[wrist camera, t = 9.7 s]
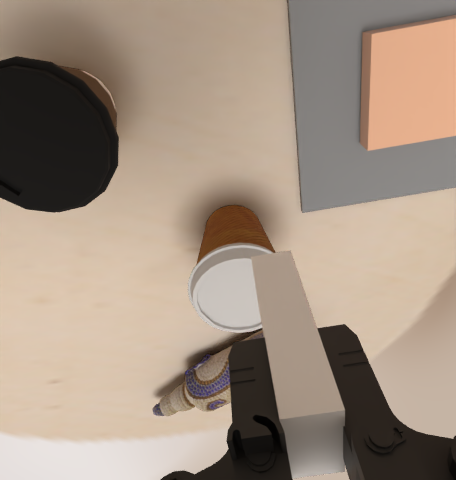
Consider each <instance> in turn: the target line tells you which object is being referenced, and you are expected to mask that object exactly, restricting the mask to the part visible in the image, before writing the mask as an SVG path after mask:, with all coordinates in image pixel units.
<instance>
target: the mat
mask: <svg viewBox="0 0 456 480" xmlns="http://www.w3.org/2000/svg"><path fill="white" fill-rule="evenodd" d="M287 1H288V16H289V31H290V46H291V61H292V76H293V91H294V106H295V121H296V136H297V151H298V166H299V181H300V196H301V210H302V213H305V212H311V211H317V210H323V209H329V208H335V207H341V206H347V205H353V204H359V203H365V202H371V201H377V200H383V199H389V198H395V197H401V196H407V195H413V194H419V193H425V192H431V191H437V190H444V189H450V188H456V136H452V137H446V138H440V139H434V140H428V141H422V142H417V143H411V144H405V145H399V146H393V147H387V148H382V149H376V150H370V151H367V150H366V149H365V148H364V147H363V146H362V145H361V144H360V118H361V75H362V33H363V32H365V31H371V30H376V29H382V28H387V27H393V26H398V25H403V24H409V23H414V22H420V21H425V20H431V19H436V18H441V17H447V16H452V15H456V0H287Z"/></svg>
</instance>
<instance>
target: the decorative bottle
mask: <svg viewBox="0 0 456 480" xmlns="http://www.w3.org/2000/svg"><path fill="white" fill-rule="evenodd" d="M258 338H264V335H263V329H262V330H260V331H259V332H257V333H254V334H253V335H251V336H250V337H248V338H246V339H244V340H241V341H245V340H251V339H258ZM231 348H232V346H230V347H229V348H227V349H225V350H223V351H221V352H219V353H217V354H215V355H213V356H211V355H206V356H205V357H204V358H203V359H202V360H201V362H199V363H197V364H196V365H194V366H193V367H191V368H189V369H188V370H187V371H186V372H185V382H184V383H183V384H181V385H179V386H178V387H177V388H175V389H174V390H173V391H172V392H171V394H168V395H166V396H165V397H163V398H162V399H161V400H160V403H158V404H156V405H155V406H154V408H153V413H154V414H155V415H156V416H164V415H165V416H170V415H173V414H175V413H176V412H178V411H187V410H190V409H192V408H194V407H195V406H196V407H197V408H199V409H200V410H202V411H206V412H208V411H214V410H215V409H217V408H219V407H222V406H224V405H226V404H228V403H230V402H231V392H230V377H229V361H228V355H229V353H230V350H231ZM208 356H209V357H208ZM206 357H208V358H206Z"/></svg>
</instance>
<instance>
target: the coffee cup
mask: <svg viewBox="0 0 456 480" xmlns="http://www.w3.org/2000/svg"><path fill="white" fill-rule="evenodd" d="M116 117H117V113H116V106H115V104H114V101H113V98H112V96H111V93H110V91H109V90H108V89H107V88H106V87H105V85H104V84H103V83H102V82H101V81H100V80H99V79H98V78H96V77H94V76H93V75H91V74H89V73H87V72H86V71H81V70H79V69H75V68H69V67H63V66H57V65H56V64H54V63H52V62H47V61H41V60H35V59H29V58H23V57H13V58H9V59H6V60H2V61H0V198H2V199H5V200H7V201H9V202H11V203H14V204H16V205H18V206H20V207H23V208H25V209H28V210H37V211H45V212H62V211H66V210H71V209H75V208H79V207H83V206H86V205H87V204H88V203H90V202H91V201H92V200H94V199H95V198H96V197H98V196H99V195H100V194H102V193H103V192H104V191H105V190H106V188H107V186H108V184H109V182H110V180H111V178H112V176H113V174H114V172H115V170H116V168H117V166H118V141H119V137H118V134H117V132H116Z"/></svg>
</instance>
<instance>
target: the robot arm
mask: <svg viewBox="0 0 456 480" xmlns="http://www.w3.org/2000/svg"><path fill="white" fill-rule="evenodd" d="M251 261H252V268H253V274H254V280H255V287H256V293H257V299H258V306H259V312H260V318H261V323H262V329H263V335H264V338H258V339H251V340H245V341H238V342H234V343H233V345H232V348H231V350H230V353H229V355H228V361H229V377H230V392H231V407H232V424H231V426H230V428H229V429H228V435H227V444H228V448H229V449H228V451H227V452H226V454H225V455H224V456H223V457H222V458H221V459H220V460H219V461H218V462H216V463H215V464H213V465H212V466H210V467H208V468H206V469H204V470H202V471H200V472H198V473H197V474H192V473H190V472H187V471H175V472H172V473H170V474H168V475H167V476H164V477H163V478H162V479H161V480H293V479H294V478H302V477H309V476H316V475H324V474H331V473H338V472H344V471H345V466H346V469H347V472H348V476H349V479H350V480H456V436H455V437H454V439H451V438H445V437H439V436H433V435H428V434H424V433H420V432H417V431H415V430H413V429H410V428H409V427H407V426H406V425H404V424H403V423H402V422H400V421H399V420H398V419H397V418H396V416H395V415H394V414H393V413H392V411H391V409H390V408H389V405H388V403H387V401H386V399H385V397H384V394H383V392H382V390H381V388H380V386H379V383H378V381H377V379H376V377H375V374H374V372H373V370H372V368H371V366H370V364H369V361H368V359H367V357H366V355H365V352H364V351H363V348H362V346H361V343H360V341H359V339H358V337H357V335H356V334H355V333H354V332H353V331H351V330H350V329H349V328H348V327H347V326H346V325H345V324H343V325H337V326H330V327H323V328H317V326H316V323H315V320H314V318H313V315H312V312H311V309H310V306H309V303H308V300H307V297H306V294H305V291H304V288H303V285H302V282H301V279H300V276H299V274H298V271H297V268H296V265H295V262H294V259H293V256H292V253H291V250H290V251H284V252H277V253H271V254H265V255H259V256H253V257H251Z"/></svg>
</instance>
